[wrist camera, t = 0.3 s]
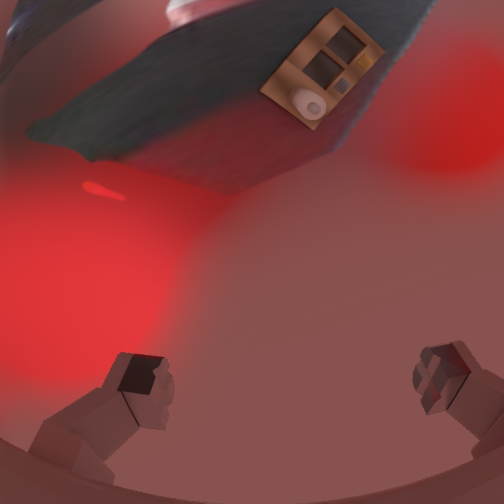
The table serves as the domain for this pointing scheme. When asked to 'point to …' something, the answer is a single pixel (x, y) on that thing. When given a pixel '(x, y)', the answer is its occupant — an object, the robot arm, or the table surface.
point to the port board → (324, 63)
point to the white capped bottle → (307, 102)
